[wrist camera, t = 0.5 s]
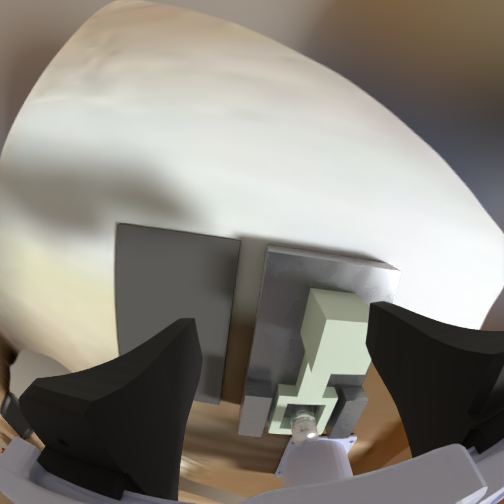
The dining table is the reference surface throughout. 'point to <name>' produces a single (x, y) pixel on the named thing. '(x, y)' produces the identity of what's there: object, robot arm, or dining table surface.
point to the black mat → (176, 292)
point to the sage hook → (324, 355)
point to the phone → (15, 416)
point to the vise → (290, 342)
